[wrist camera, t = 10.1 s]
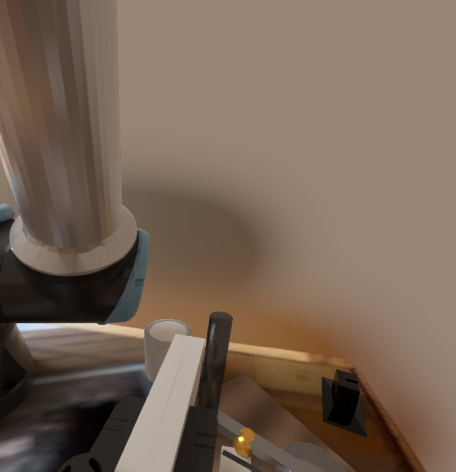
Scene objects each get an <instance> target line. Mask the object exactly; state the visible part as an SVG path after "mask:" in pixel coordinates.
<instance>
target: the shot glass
mask: <svg viewBox="0 0 456 472" xmlns="http://www.w3.org/2000/svg"><path fill="white" fill-rule="evenodd" d="M191 332H192V330H191V328H190V327H189V326H188V325H187V324H186V323H184V322H181V321H179V320H175V319H161V320H157V321H154V322H151V323H150V324H149V325H147V326H146V329H145V331H144V340H145V373H146V377H147V378H148V379H149V380H150V381H151V382H153V383H154V381H155V379H156V377H157V375H158V372H159V370H160V368H161V366H162V363H163V361H164V359H165V357H166V354H167V352H168V350H169V348H170V345H171V343H172V341H173V339H174V337H175V334H180V335H185V336H191Z"/></svg>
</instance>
